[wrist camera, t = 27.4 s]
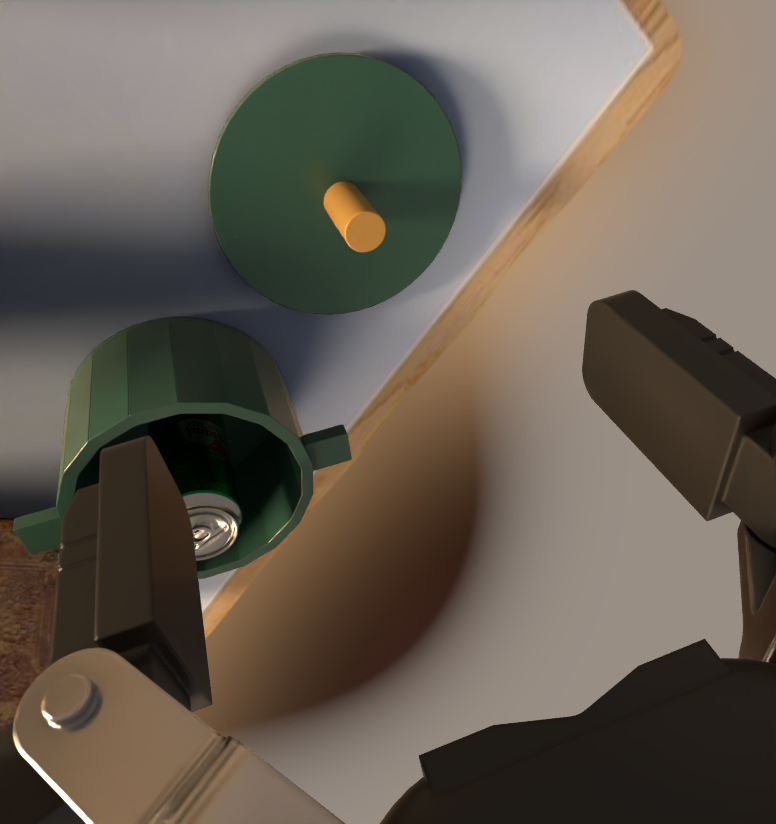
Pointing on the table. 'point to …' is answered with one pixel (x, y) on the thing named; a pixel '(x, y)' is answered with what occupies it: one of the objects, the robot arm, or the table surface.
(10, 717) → the book
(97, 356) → the green cooking pot
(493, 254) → the table surface
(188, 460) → the soda can
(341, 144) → the green pot lid
